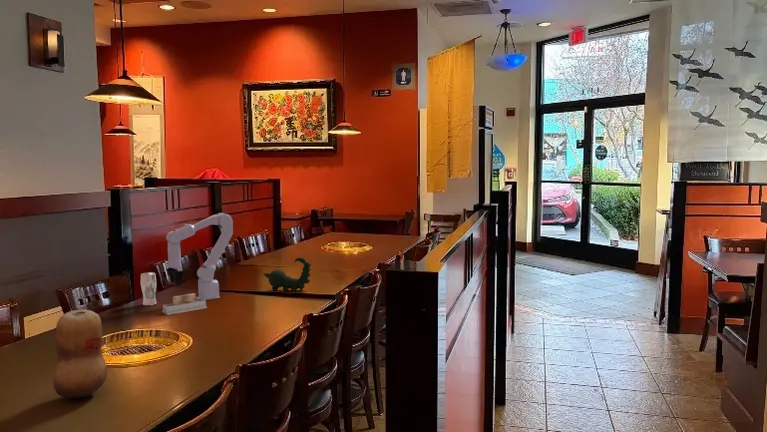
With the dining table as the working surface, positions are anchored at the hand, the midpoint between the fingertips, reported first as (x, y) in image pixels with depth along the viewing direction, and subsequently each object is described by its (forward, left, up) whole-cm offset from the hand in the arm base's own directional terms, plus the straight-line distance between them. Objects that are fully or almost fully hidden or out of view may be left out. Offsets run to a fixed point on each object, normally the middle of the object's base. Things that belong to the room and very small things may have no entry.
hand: (175, 283), depth 266 cm
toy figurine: (-53, +14, -10) cm, 56 cm away
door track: (+2, +17, -9) cm, 20 cm away
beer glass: (+11, -6, -10) cm, 16 cm away
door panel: (+2, +17, -8) cm, 19 cm away
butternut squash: (+58, +93, -10) cm, 110 cm away
